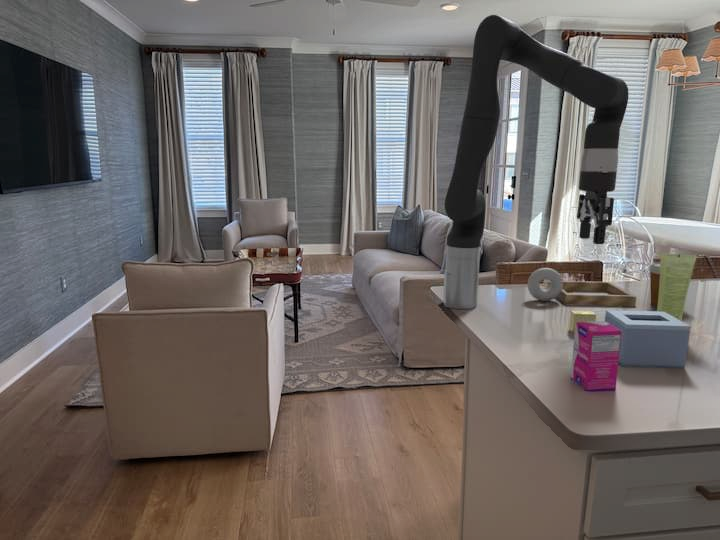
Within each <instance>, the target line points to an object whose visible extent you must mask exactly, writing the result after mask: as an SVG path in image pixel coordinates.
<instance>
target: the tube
mask: <svg viewBox="0 0 720 540" xmlns="http://www.w3.org/2000/svg"><path fill="white" fill-rule="evenodd" d="M697 258H698V257H697V255H696V254H683V253H682V254H680V253H679V254H678V253H666V252H660V253H659V263H660V283H659V297H658V307H656V309H657V310H656V311H659V312H666V313H667V314H669V315H671V316H673V317H675V318H677V319H678V320H680V321H682V320H683V314H684V310H685V304H686V301H687V295H688V292H689V291H688V290H689V286H690V283H691V279H692V274H693V271H694V267H695V265H696V264H695V263H696V261H697Z"/></svg>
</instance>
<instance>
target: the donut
mask: <svg viewBox="0 0 720 540" xmlns="http://www.w3.org/2000/svg"><path fill="white" fill-rule="evenodd" d="M543 280H547V281H550V282H551V286H550V287H549V288H548V289H547V288H546V289H542V288H541V286H540V283H541V282H542V281H543ZM563 281H564V280H563V278H562V276H561V274H560V273H559V272H558V271H557V270H555V269H553V268H549V267H540V268H537V269H536V270H534V271H533V272H532V273H531V274H530V276H529V278H528V280H527V290H528V291H529V295H531V297H533V298H534V299H536V300H537V301H540V300H541V301H540V302H549V301H552V300H554V299H557V296H558V295H559V294H560V292H561V291H562V287H563Z"/></svg>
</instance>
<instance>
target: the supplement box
mask: <svg viewBox="0 0 720 540" xmlns="http://www.w3.org/2000/svg"><path fill="white" fill-rule="evenodd" d="M621 334H622V331H621V330H619V329H617V328H616V327H614V326H612V325H611V324H609V323H607V322H605V320H596V321H590V322H576V323H575V333H574V335H573V336H574V337H573V338H574V339H573V346H572V347H573V349H572V358H571V369H570V370H571V372H570V380H571V381H573V382H574V383H576V384H577V385H578V386H579V387H580V388H582V389H583V390H584V391H585V392H610V391H611V392H612V391H613V392H615V391H616V389H617V382H618V381H617V378H618V373H619V372H618V371H619V364H618V362H619V352H620V343H621Z"/></svg>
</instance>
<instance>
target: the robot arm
mask: <svg viewBox="0 0 720 540" xmlns="http://www.w3.org/2000/svg"><path fill="white" fill-rule="evenodd" d="M501 61H505V62H509V63H513V64H517V65H519V66H521V67H524V68H526V69H528V70H530V71H531V72H532V73H534V74H536V75H537V76H538V77H539V78H541V79H542V80H544V81H546V83H549V84H550V85H552V86H554V87H556V88H558V89H560V90H561V91H564V92H566V93H567V94H570V95H571V96H573V97H575V98H576V99H577V100H579V101H581V103H583V104H585V105H587V106H589V107H590V108H593V109H594V113H593V116H592V117H593V118H592V122H590V123H588V124H587V125H586V128H585V133H584V142H583V150H582V156H581V160H580V161H581V162H580V169H579V171H580V172H579V181H578V190H579V191H580V192H581V191H582V192H585V193H580V194H579V196H578V204H577V213H576V219H578V220H579V222H580V226H579V239H583V240H584V239H585V240H586V239H590V238H591V227H592V223H591V222H592V220H593V222H594V223H593V224H594V228H593V229H594V230H593V231H594V232H593V238H592V239H593V240H592V244H595V245H604V244H605V241H606V230H607V228H608V227H609V226H612V224H613V215H614V203H615V202H614V201H615V199H614V197H608V193H611V192H614V191H615V189H616V183H617V173H618V165H619V164H618V163H619V142H620V132H621V131H620V130H621V126H622V123H623V121H624V118H625V114H626V110H627V108H628V107H627V106H628V102H629V87H628V85H627V83H626V82H625V80H623V79H621V78H619V77H615V76H613V75H611V74H607V73H605V72H602V71H600V70H598V69H596V68H593V67H591V66H590V65H589V64H587V63H586V62H585V61H583V60H581V59H578V58H576V57H574V56H573V55H570V54H568V53H565V52H564V51H561V50H558V49H555V48H553V47H550V46H547V45H546V44H543V43H541V42H540V41H538V40H536V39H535V38H533V37H532V36H531V35H530V34H528V33H527V32H526V31H524V30H523V29H522V28H521V27H520V26H518V24H517V23H516V22H514V21H512V20H510V19H508V18H505V17H503V16H501V15H498V14H491V15H488V16H486V17H485V18H483V20H482V21H480V23H479V25H478V27H477V28H476V32H475V35H474V41H473V51H472V61H471V71H470V79H469V84H468V90H467V97H466V103H465V106H464V111H463V115H462V116H463V117H462V121H461V127H460V132H459V139H458V144H457V149H456V156H455V162H454V167H453V171H452V174H451V175H452V176H451V179H450V182H449V185H448V188H447V192H446V195H445V199H444V211H445V214H446V216H447V217H448V218H449V220H451V221H452V224H451V230H449V233H448V234H447V237H446V247H445V248H446V250H445V251H446V252H445V270H444V274H443V291H442V292H443V293H442V295H443V297H442V303H443V306H444V307H445V308H450V309H456V310H472V309H476V308H477V306H478V295H479V294H478V291H479V275H480V273H479V272H480V258H481V257H480V256H481V255H480V254H481V242H482V238H483V235H484V231H485V222H486V221H485V220H486V210H487V209H486V207H487V206H486V205H487V203H486V199H485V196H484V194H483V192H482V191H481V190H480V189H478V188H479V181H480V177H481V172H482V169H483V167H484V165H485V163H486V160H487V158H488V157H489V155H490V153H491V151H492V148H493V147H494V143H495V140H496V136H497V132H498V128H499V124H500V119H501V118H500V117H501V107H500V97H499V96H500V95H499V89H498V72H499V67H500V62H501Z"/></svg>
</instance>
